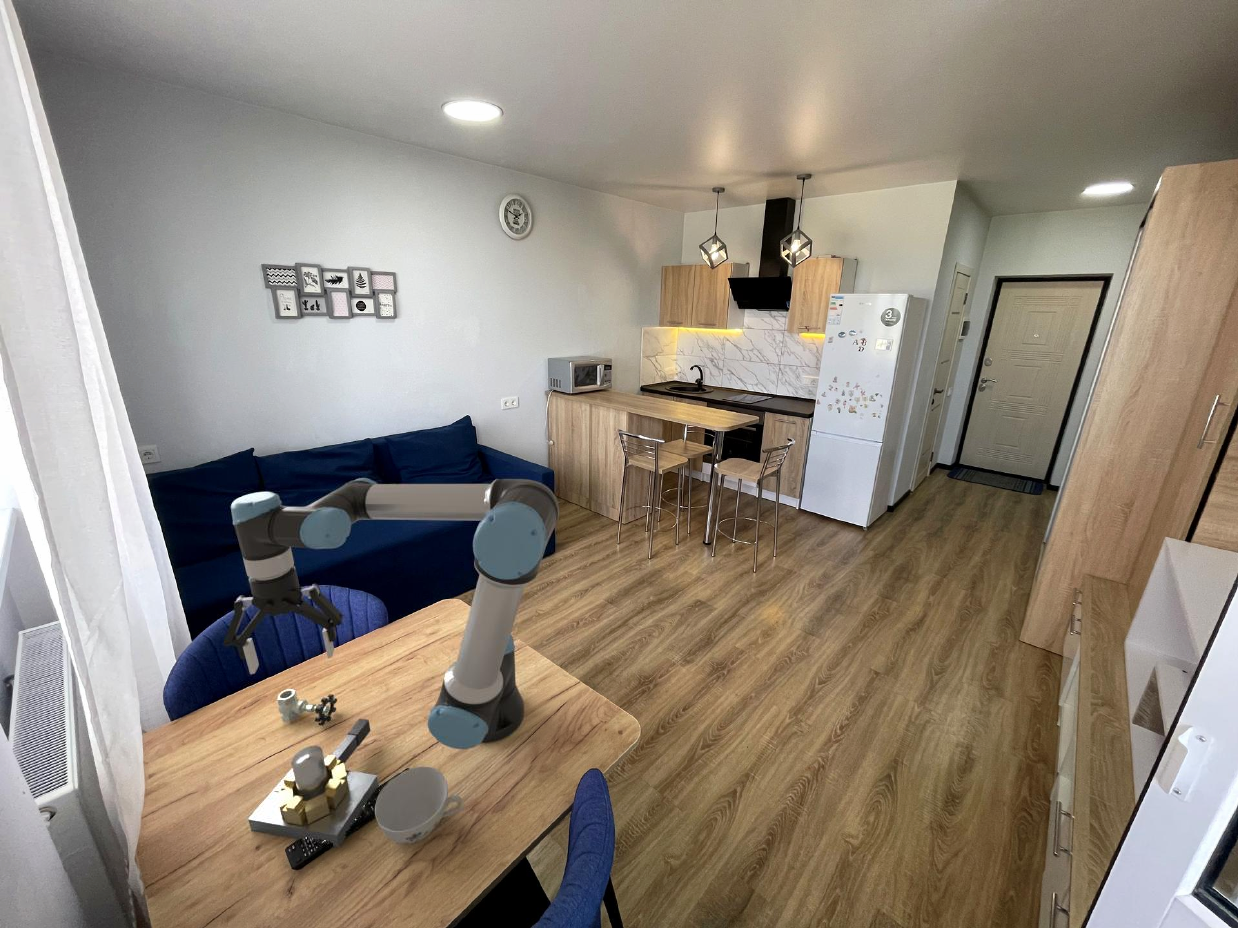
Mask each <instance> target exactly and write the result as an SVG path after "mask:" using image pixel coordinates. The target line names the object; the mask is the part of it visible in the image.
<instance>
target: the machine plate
mask: <svg viewBox="0 0 1238 928" xmlns="http://www.w3.org/2000/svg"><path fill="white" fill-rule="evenodd" d="M324 759H325V756H324V752H323V749H322V747H321V746H320V745H310V746H307V747H305V748H302V749H301V750H299V751H297V753H296V754H294V756H292V759H291V763H290V765H291V769H290V770H289V771H288V773H289V772H293V773H294V777H295V782H296V786H297V790H298V794H299V795H298V796H300V797H303V799H304V801H309V800H311V799H313V798H315V797H317V796H319V795H321V794H323V793H324V792H325V791H326V790H325V786H326V784H327V783H328V782H329V781H330V780H328V775H327V770H326V766H325V761H324ZM345 771H346V775H347V780H348V786H349V787H347V793H346V794H345V796H344V797H343V798H342V800H341V801H340V803H339V804H338V805H337V807H336V808H330V807H329V812H330V813H329V814H327V815H325V816H323V817H321V818H319V819H317V820H315V821H313V822H311V823H309V824H308V819H306V821H305V822H304V823H303V825H298V824H293V823H287V822H285V819H284V818H283V819H282V816H281V812H280V808H279V798H278V793H279V792H281V788H280V787H281V786H282V785H283V784H284V781H283V779H284V778H285V777H286V776H287V774H286V775H285V776H284V777H283V778H282V780H281V781H280V782H278V784H277V785H276V786H275V788H273V790H272V791H271V792H270V793H269V795H267V797H266V798H264V800H263V801H262V802H261V803H260V804H259V806H258V807H257V808H256V809H255V810H254V812H253V813H252V814H251V815H250V816H249V817H248V819H247V820H248V824H249V827H250V830H251V831H252V832H257V833H263V834H268V835H273V836H279V837H283V838H288V839H293V840H299V839H302V838H305V837H310V838H313V839H321V840H326V841H330V842H331V843H333V846H332V847H335V848H340V847H341V845H342V843H344V841H345V839H346V837H347V836H345V834H346V831H347V830H348V828H349V826H350V825H351V823H352V822H353V821H354V819H355V818H356V817H357V815H358V813H359V812H360V810H361V809H362V807H363V806H364V805H365V803H366V801H367V800H368V798H369V797H370V795H371V794H372V793H373V792H374V790H376V788H378V789H379V787H380V784H379V779H378V775H377V774H376V775H375V774H371V773H364V772H358V771H353V770H347V769H345ZM376 791H377V790H376Z"/></svg>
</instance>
